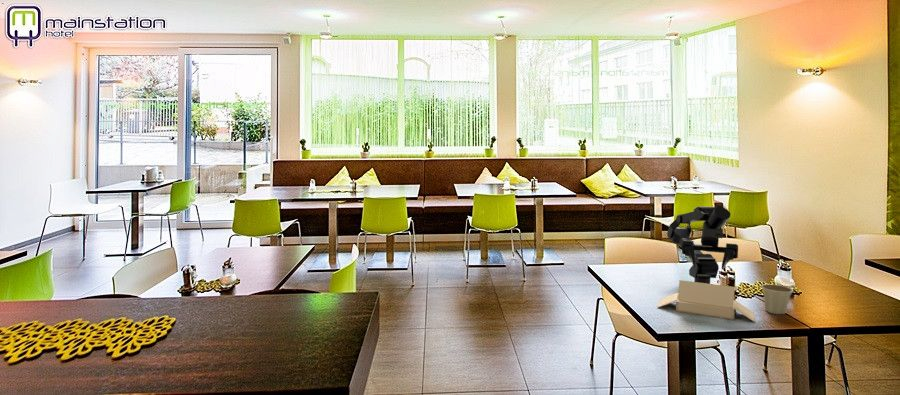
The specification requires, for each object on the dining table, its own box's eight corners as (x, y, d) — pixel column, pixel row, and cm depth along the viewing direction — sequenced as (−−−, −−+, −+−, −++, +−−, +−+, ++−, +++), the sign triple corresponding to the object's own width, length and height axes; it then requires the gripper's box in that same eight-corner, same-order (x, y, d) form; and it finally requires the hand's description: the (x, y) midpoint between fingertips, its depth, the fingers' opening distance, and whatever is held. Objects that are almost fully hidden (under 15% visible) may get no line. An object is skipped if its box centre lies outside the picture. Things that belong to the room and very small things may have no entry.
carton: (661, 296, 200) (662, 287, 200) (753, 309, 186) (753, 299, 186) (657, 308, 187) (657, 297, 186) (755, 322, 173) (756, 311, 172)
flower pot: (796, 317, 179) (798, 292, 178) (765, 315, 181) (767, 290, 180) (784, 308, 188) (786, 285, 187) (755, 306, 190) (757, 283, 189)
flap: (677, 300, 183) (679, 280, 184) (733, 308, 175) (734, 286, 176) (677, 300, 182) (679, 280, 183) (733, 308, 175) (734, 286, 175)
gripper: (683, 219, 199) (679, 252, 190) (739, 222, 190) (738, 256, 181) (684, 237, 206) (680, 269, 197) (738, 241, 197) (737, 275, 188)
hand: (708, 267), depth 190 cm, fingers open, 9 cm apart
